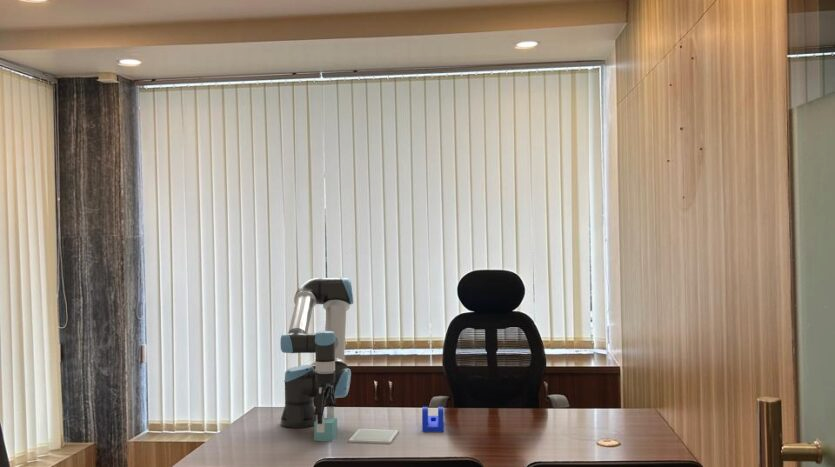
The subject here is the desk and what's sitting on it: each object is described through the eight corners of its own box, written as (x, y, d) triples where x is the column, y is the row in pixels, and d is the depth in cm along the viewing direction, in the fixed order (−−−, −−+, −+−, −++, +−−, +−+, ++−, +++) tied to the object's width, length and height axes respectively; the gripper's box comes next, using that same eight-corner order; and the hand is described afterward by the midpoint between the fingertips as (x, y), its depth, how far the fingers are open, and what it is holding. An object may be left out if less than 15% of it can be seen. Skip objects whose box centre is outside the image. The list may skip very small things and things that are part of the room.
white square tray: (358, 430, 304) (358, 428, 304) (398, 432, 302) (398, 430, 302) (348, 442, 288) (348, 439, 288) (390, 443, 286) (390, 441, 286)
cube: (319, 435, 298) (319, 417, 298) (337, 436, 297) (337, 418, 297) (314, 440, 291) (314, 422, 291) (332, 441, 290) (332, 422, 290)
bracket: (443, 432, 302) (443, 409, 302) (422, 432, 302) (422, 409, 302) (443, 420, 320) (443, 398, 320) (423, 420, 320) (423, 398, 320)
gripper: (324, 366, 307) (325, 420, 306) (305, 377, 282) (306, 435, 282) (343, 366, 305) (343, 420, 305) (325, 377, 281) (325, 436, 280)
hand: (325, 427), depth 293 cm, fingers open, 13 cm apart
